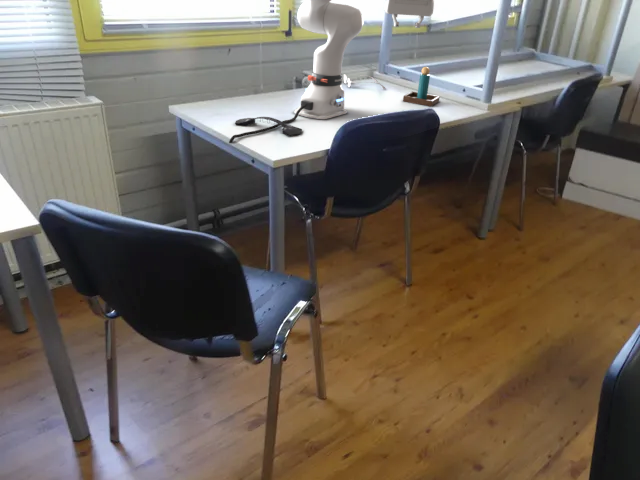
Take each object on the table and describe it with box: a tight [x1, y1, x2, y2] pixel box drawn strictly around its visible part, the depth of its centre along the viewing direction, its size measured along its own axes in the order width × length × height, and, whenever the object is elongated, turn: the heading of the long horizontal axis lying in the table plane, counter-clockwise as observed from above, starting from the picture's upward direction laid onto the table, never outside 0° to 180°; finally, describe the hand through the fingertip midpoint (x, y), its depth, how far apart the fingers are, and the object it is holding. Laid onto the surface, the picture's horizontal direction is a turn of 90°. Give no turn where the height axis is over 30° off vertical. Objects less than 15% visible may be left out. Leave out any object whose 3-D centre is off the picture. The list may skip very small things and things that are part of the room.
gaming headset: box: [234, 116, 303, 137], centre depth 192 cm, size 9×25×3 cm, turn 67°
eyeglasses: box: [343, 74, 387, 90], centre depth 264 cm, size 15×18×4 cm
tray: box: [402, 91, 441, 107], centre depth 246 cm, size 11×13×2 cm
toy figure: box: [417, 66, 431, 100], centre depth 243 cm, size 4×4×14 cm
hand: (406, 27), depth 223 cm, fingers open, 8 cm apart
